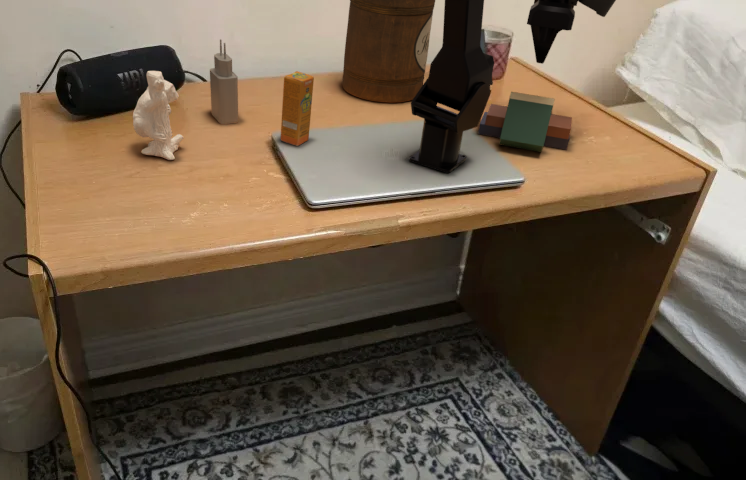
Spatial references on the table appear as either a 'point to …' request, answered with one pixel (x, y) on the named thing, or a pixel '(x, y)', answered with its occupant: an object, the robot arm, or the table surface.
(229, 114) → the power adapter
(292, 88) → the supplement box
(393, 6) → the wooden container
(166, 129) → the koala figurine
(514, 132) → the tea box
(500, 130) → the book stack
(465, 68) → the robot arm
